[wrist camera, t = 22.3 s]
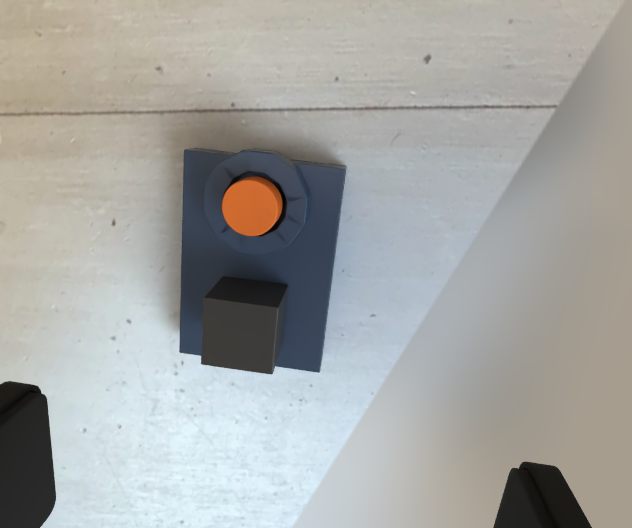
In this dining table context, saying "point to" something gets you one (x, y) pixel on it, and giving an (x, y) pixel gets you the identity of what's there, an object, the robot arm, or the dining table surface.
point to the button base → (262, 244)
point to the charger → (244, 324)
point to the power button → (252, 206)
